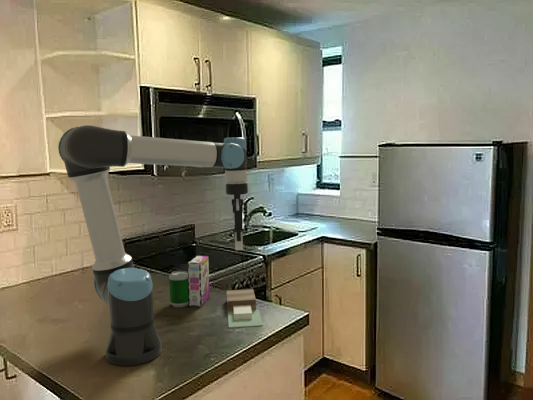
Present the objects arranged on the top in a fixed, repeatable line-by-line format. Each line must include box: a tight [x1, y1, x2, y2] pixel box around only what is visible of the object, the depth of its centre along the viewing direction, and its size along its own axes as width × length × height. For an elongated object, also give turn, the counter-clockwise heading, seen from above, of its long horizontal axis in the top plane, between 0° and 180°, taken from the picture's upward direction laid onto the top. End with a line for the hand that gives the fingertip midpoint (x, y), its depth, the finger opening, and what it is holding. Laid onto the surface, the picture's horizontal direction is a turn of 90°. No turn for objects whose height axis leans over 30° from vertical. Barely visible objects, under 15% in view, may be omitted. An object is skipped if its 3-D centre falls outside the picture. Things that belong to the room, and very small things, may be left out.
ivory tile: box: [233, 305, 252, 320], centre depth 156 cm, size 8×6×2 cm
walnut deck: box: [226, 288, 257, 312], centre depth 166 cm, size 12×10×4 cm
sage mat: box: [227, 309, 264, 329], centre depth 154 cm, size 14×11×1 cm
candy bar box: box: [187, 255, 210, 308], centre depth 171 cm, size 11×5×16 cm, turn 171°
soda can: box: [168, 270, 189, 308], centre depth 168 cm, size 8×8×12 cm
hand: (239, 249), depth 161 cm, fingers closed
